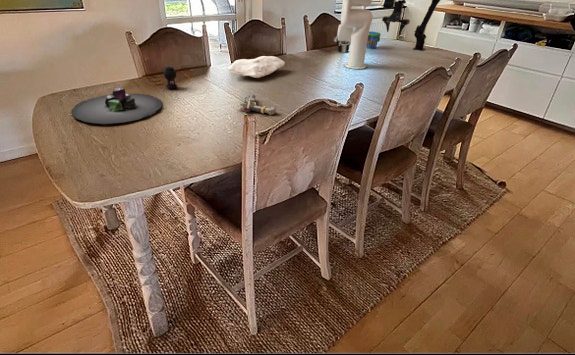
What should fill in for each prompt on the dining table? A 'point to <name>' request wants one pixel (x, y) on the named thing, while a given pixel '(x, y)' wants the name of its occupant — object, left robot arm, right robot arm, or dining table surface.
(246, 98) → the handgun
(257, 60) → the crumpled cloth
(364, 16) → the left robot arm
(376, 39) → the snack cup
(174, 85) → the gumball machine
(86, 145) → the dining table surface
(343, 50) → the canister
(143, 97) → the grey flat disc
